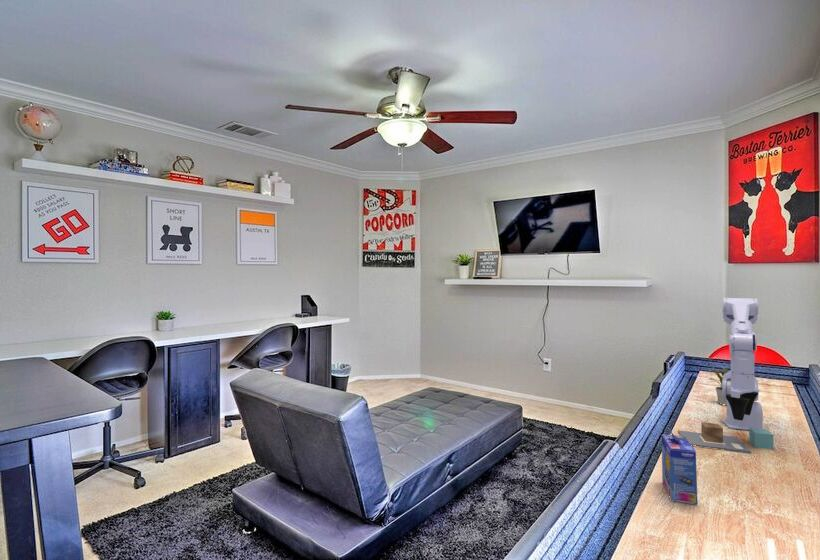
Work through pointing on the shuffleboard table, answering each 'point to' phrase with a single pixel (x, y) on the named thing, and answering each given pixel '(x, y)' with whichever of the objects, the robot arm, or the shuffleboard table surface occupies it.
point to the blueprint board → (728, 442)
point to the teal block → (761, 438)
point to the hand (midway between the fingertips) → (742, 417)
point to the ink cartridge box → (679, 468)
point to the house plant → (719, 389)
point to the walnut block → (712, 432)
